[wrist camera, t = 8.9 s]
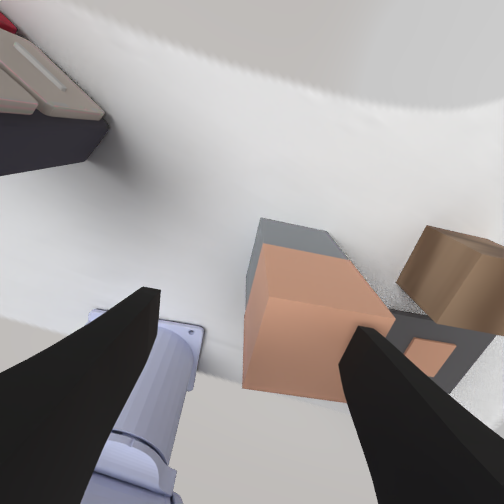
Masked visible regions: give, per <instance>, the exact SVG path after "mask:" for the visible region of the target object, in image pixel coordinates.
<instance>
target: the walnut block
mask: <svg viewBox="0 0 504 504" xmlns="http://www.w3.org/2000/svg"><path fill="white" fill-rule="evenodd" d="M396 283H397V284H398V285H399V286H400V287H401V288H402V289H403V290H404V291H405V292H406V293H407V294H408V295H409V296H410V297H411V298H412V299H413V301H414V302H415V303H416V304H417V305H418V306H419V307H420V308H421V309H422V310H423V311H424V312H425V313H426V314H427V315H428V316H429V317H430V318H431V319H432V320H433V321H434V322H435V323H436V324H441V325H447V326H452V327H457V328H463V329H468V330H474V331H479V332H484V333H490V334H495V335H501V336H504V246H501V245H499V244H497V243H495V242H493V241H490V240H488V239H485V238H480V237H476V236H471V235H467V234H463V233H458V232H454V231H450V230H445V229H441V228H436V227H432V226H428V225H427V226H426V227H425V229H424V231H423V233H422V235H421V237H420V239H419V241H418V242H417V244H416V246H415V248H414V250H413V252H412V254H411V255H410V257H409V259H408V261H407V263H406V265H405V267H404V268H403V270H402V272H401V274H400V276H399V278H398V280H397V282H396Z"/></svg>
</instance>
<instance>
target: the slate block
mask: <svg viewBox="0 0 504 504" xmlns="http://www.w3.org/2000/svg"><path fill="white" fill-rule="evenodd" d="M263 243H265V244H270V245H275V246H280V247H285V248H290V249H295V250H300V251H306V252H311V253H316V254H321V255H326V256H331V257H336V258H341V259H346V260H349V259H348V258H347V257H346V255H345V254H344V253H343V251H342V250H341V249H340V248H339V246H338V245H337V244H336V243H335V241H334V240H333V239H332V237H331V236H330V235H329V234H328V232H327V231H323V230H318V229H313V228H308V227H304V226H299V225H294V224H289V223H284V222H280V221H275V220H270V219H265V218H260V222H259V226H258V230H257V234H256V238H255V242H254V246H253V251H252V255H251V259H250V263H249V267H248V271H247V275H246V307H247V304H248V300H249V296H250V292H251V288H252V284H253V280H254V276H255V272H256V268H257V264H258V260H259V256H260V252H261V248H262V244H263ZM246 307H245V311H246Z"/></svg>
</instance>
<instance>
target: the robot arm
mask: <svg viewBox="0 0 504 504" xmlns="http://www.w3.org/2000/svg"><path fill="white" fill-rule="evenodd" d="M160 294H161V290H159V289H153V288H148V287H141V288H140V289H138V290H137V291H135V292H134V293H133V294H131V295H130V296H128V297H127V298H125V299H124V300H123V301H121V302H120V303H118V304H117V305H115V306H114V307H112V308H111V309H110V310H108V311H103V310H97V309H94V310H92V311H91V312H90V313H89V315H88V319H89V322H88V323H87V324H86V325H85V326H84V327H82V328H80V329H79V330H77V331H75V332H74V333H72V334H70V335H69V336H67V337H65V338H64V339H62V340H61V341H59V342H57V343H56V344H54V345H52V346H50V347H49V348H47V349H45V350H43V351H41V352H40V353H38V354H36V355H34V356H32V357H30V358H29V359H27V360H25V361H23V362H21V363H19V364H17V365H15V366H13V367H11V368H9V369H7V370H5V371H3V372H1V373H0V504H183V502H182V499H181V497H180V496H179V495H178V494H177V493H175V492H173V488H174V483H175V478H176V474H177V471H176V470H175V469H172V468H170V467H169V466H168V465H169V460H170V456H171V452H172V448H173V444H174V440H175V436H176V432H177V428H178V423H179V419H180V415H181V411H182V407H183V403H184V399H185V395H186V391H191V390H193V387H194V382H195V376H196V371H197V365H198V360H199V354H200V349H201V343H202V338H203V332H204V330H203V328H202V327H200V326H194V325H188V324H182V323H176V322H170V321H164V320H158V319H159V307H160ZM190 330H193V331H194V332H191V331H190ZM338 366H339V372H340V377H341V382H342V387H343V391H344V395H345V398H346V401H347V404H348V407H349V410H350V414H351V417H352V419H353V422H354V425H355V428H356V431H357V434H358V437H359V440H360V443H361V446H362V449H363V452H364V455H365V458H366V461H367V464H368V467H369V471H370V474H371V477H372V480H373V484H374V488H375V492H376V496H377V500H378V504H504V439H503V438H502V437H500V436H499V435H498V434H496V433H495V432H494V431H492V430H491V429H490V428H489V427H487V426H486V425H485V424H483V423H482V422H481V421H480V420H478V419H477V418H476V417H475V416H473V415H472V414H471V413H470V412H469V411H467V410H466V409H465V408H464V407H463V406H461V405H460V404H459V403H458V402H457V401H456V400H454V399H453V398H452V397H451V396H450V395H448V394H447V393H446V392H445V391H444V390H443V389H442V388H440V387H439V386H438V385H437V384H436V383H435V382H434V381H432V380H431V379H430V378H429V377H428V376H427V375H426V374H425V373H424V372H422V371H421V370H420V369H419V368H418V367H417V366H416V365H415V364H414V363H413V362H411V361H410V360H409V359H408V358H407V357H406V356H405V355H404V354H403V353H402V352H401V351H399V350H398V349H397V348H396V347H395V346H394V345H393V344H392V343H391V342H389V341H388V340H387V339H386V338H385V337H384V336H383V335H381V334H380V333H379V332H378V331H376V330H375V329H374V328H369V327H364V326H358V327H357V329H356V331H355V333H354V334H353V336H352V338H351V340H350V342H349V344H348V346H347V348H346V350H345V352H344V354H343V356H342V358H341V360H340V362H339V363H338Z"/></svg>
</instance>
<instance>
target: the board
mask: <svg viewBox="0 0 504 504" xmlns="http://www.w3.org/2000/svg"><path fill="white" fill-rule="evenodd" d="M389 311H390V312H391V313H392V315H393V316H394V317H395V318H396V320H395V321H394V323H393V325H392V327H391V329H390V330H389V332H388V334H387V336H386V337H385V338H386V339H387V340H388V341H389V342H391V343H392V344H393V345H394V346H395V347H396V348H397V349H398V350H399V351H401V352H402V353H403V354H404V355H405V356H406V357H407V358H408V359H409V360H410V361H411V362H413V363H414V364H415V365H416V366H417V367H418V368H419V369H420V370H421V371H422V372H424V373H425V374H426V375H427V376H428V377H429V378H430V379H431V380H432V381H434V382H435V383H436V384H437V385H438V386H439V387H440V388H442V389H443V390H444V391H445V392H446V393H449V394H450V393H451V391H452V390H453V389H454V388H455V386H456V385H457V384H458V383H459V381H460V380H461V379H462V378H463V376H464V375H465V374H466V373H467V371H468V370H469V369H470V368H471V366H472V365H473V364H474V363H475V361H476V360H477V359H478V358H479V356H480V355H481V354H482V353H483V351H484V350H485V349H486V348H487V346H488V345H489V344H490V343H491V341H492V340H493V339H494V338H495V336H496V335H495V334H490V333H484V332H479V331H474V330H468V329H463V328H457V327H452V326H447V325H441V324H436V323H435V322H434V321H433V320H432V319H431V318H430V317H429V316H425V315H420V314H414V313H409V312H403V311H398V310H393V309H389Z"/></svg>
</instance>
